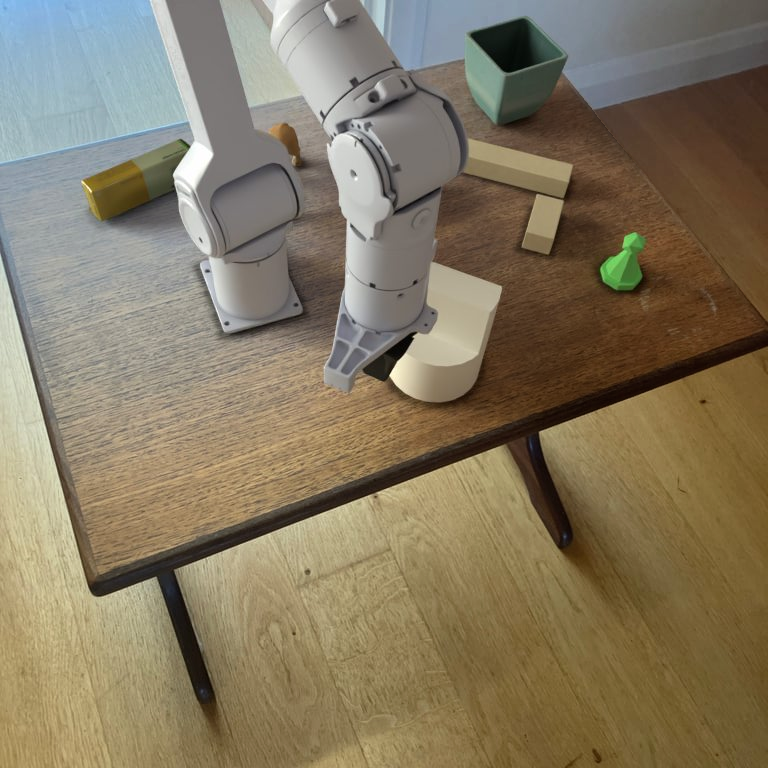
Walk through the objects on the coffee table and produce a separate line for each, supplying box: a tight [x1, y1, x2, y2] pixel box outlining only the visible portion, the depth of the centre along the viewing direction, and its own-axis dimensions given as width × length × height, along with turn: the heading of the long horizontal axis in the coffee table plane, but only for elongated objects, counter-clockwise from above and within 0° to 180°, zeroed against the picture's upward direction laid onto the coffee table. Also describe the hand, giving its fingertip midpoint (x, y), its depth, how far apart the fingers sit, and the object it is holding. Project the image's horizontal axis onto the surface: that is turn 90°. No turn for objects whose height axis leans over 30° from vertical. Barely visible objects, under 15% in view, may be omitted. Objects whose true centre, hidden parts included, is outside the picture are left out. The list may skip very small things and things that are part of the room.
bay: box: [462, 137, 574, 255], centre depth 91 cm, size 12×18×2 cm, turn 73°
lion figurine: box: [268, 122, 303, 167], centre depth 86 cm, size 15×5×9 cm, turn 4°
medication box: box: [80, 138, 192, 222], centre depth 87 cm, size 12×3×4 cm, turn 129°
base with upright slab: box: [389, 261, 503, 403], centre depth 74 cm, size 9×9×12 cm
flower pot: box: [464, 15, 569, 126], centre depth 96 cm, size 9×9×9 cm
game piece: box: [599, 231, 647, 291], centre depth 84 cm, size 4×4×6 cm
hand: (377, 371), depth 67 cm, fingers closed
